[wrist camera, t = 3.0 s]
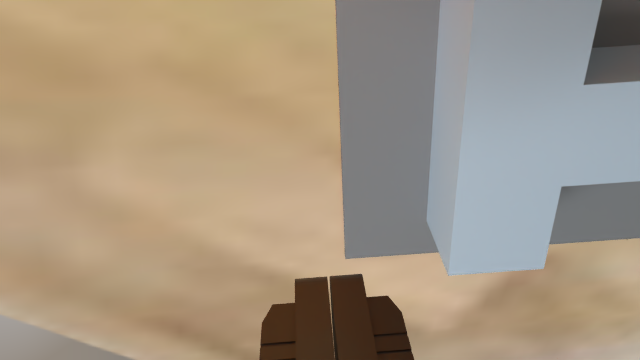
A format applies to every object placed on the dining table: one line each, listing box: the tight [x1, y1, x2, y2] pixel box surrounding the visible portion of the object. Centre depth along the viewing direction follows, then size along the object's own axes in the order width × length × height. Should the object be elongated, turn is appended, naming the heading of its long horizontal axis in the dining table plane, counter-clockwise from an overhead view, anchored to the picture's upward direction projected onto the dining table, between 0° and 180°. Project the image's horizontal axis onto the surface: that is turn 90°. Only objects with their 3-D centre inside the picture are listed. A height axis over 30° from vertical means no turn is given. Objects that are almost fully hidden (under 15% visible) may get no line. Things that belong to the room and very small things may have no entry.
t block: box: [427, 0, 640, 276], centre depth 20 cm, size 12×12×4 cm
